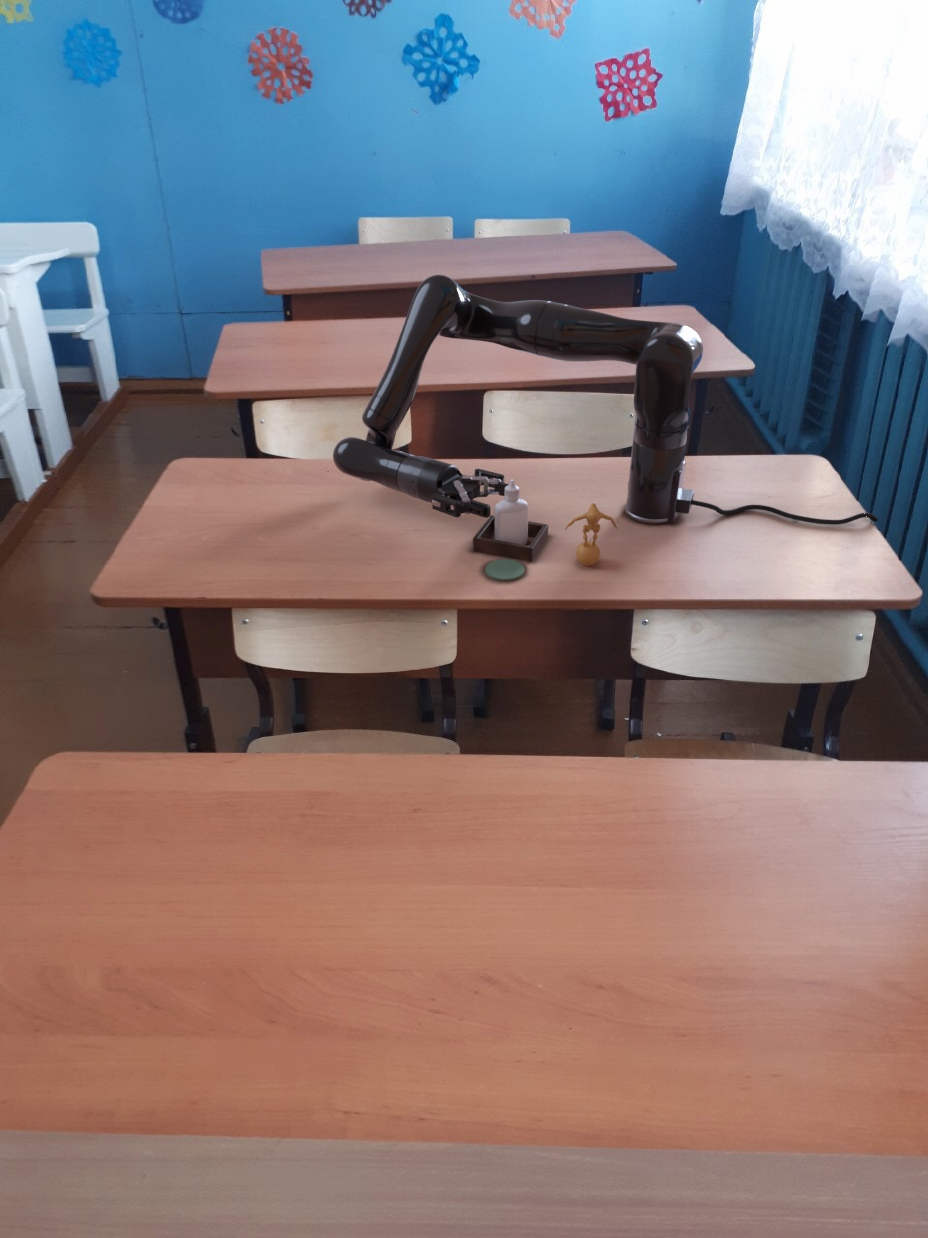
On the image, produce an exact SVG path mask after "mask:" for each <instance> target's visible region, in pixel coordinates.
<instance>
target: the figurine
mask: <svg viewBox="0 0 928 1238" xmlns="http://www.w3.org/2000/svg"><path fill="white" fill-rule="evenodd" d="M584 519H586V523H587V524H583V525H582V526H583V529H582V533H583V536H582V539H583V540H584V541H582V542H581V543H580V544H579V545H578V546H577V547H576V549H575V557H576V560H577V562H578V563H580V564H581V565H583V566H585V567H586V566H587V567H588V566H592V565H595V564H597V562H598V561H599V559H600V557H601V550H600V547H599V546H598V544H596V542H597V539H598V533H599V532H600V530H601V524H599V522H600V520H601V519H604V520H608V521H610V522H611V524H612V525H613V527H614V528H615V529H618V525H617V523H616V522H615V519H614V518H613V517H611V516H609V515H608V514H605V513H603V512H601V511H600V510H599V509H598V507H597V505H596V504H595V503H594V502H593V503H591V504H590V507H589V509H588V511H587V512H585V513H583V514H582V515H578V516H577V517H574V518H573V519H572V520H571V521H570V522H569V523H568V524H567V525H566V527H565V529H564V530H565V531H566V530H567V529H568V528H569V527H570V526H572V525H573V524H574V523H575V522H578V521H580V520H584ZM590 531H592V532H593V536H592V538H593V540H592V541H589V540H588V535H587V533H589V532H590Z"/></svg>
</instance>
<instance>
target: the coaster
mask: <svg viewBox="0 0 928 1238" xmlns="http://www.w3.org/2000/svg"><path fill="white" fill-rule="evenodd" d="M485 574H486V576H488V577H489V578H490V579H493V580H495V581H503V582H508V581H509V582H511V581H514V580H518V579H519V578H521V577H522V576H523V575H524V574H525V566H524V565H523V563H521V562H520V561H517V560H515V559H508V558H501V559H496V560H492V561H491V562H488V564H487V565H485Z"/></svg>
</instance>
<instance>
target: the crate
mask: <svg viewBox="0 0 928 1238" xmlns="http://www.w3.org/2000/svg"><path fill="white" fill-rule="evenodd" d="M494 531H495V515H490V516H489V517H488V518H487V520H486V521H485V522H484V524H483V525H482V526H481V527H480V529H479V530H478V531H477V532H476V534H475V535H474V536H473V538H472V550H473V552H478V553H482V554H487V555H488V554H489V555H494V556H498V557H499V556H500V557H505V558H510V559H517V560H522V561H528V562H533V561H534V559H535V558H536V556H537V555H538V553H539V552H540V550H541V548H542V547H543V545H544V544H545V542H546V541H547V539H548V537H549V535H548V534H549V524H547V523H541V522H536V521H529V520H528V537H531V538H533V539H532V541H531V543H530V544H529V545H528V544H525V545H523V544H517V543H511V542H505V541H499V540H494V538H489V537H490V536H491V534H492V533H493V532H494Z"/></svg>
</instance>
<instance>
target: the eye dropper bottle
mask: <svg viewBox="0 0 928 1238" xmlns="http://www.w3.org/2000/svg"><path fill="white" fill-rule="evenodd" d="M508 484H509V485H508V486H506V487H505V497H504V499H502V500H500V501H498V502H497V503H496V504H495V506H494V516H495V530H494V538H493V539H494V540H499V541H505V542H511V543H517V544H523V545H527V543H528V537H529V536H528V521H529V503H528V502H527V501H526V500H525V499H523V498H520V487H519V486H518V485H516V482H515V480H514V479H510V480H509V483H508Z"/></svg>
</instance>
